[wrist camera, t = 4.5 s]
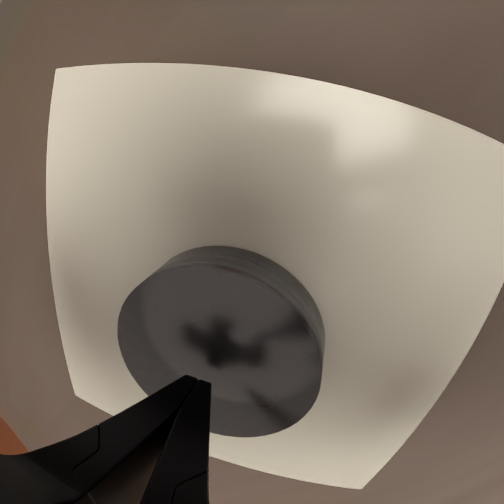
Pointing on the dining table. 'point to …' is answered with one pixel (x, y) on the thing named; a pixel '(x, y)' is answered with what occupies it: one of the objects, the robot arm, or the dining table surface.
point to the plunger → (227, 337)
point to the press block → (279, 236)
